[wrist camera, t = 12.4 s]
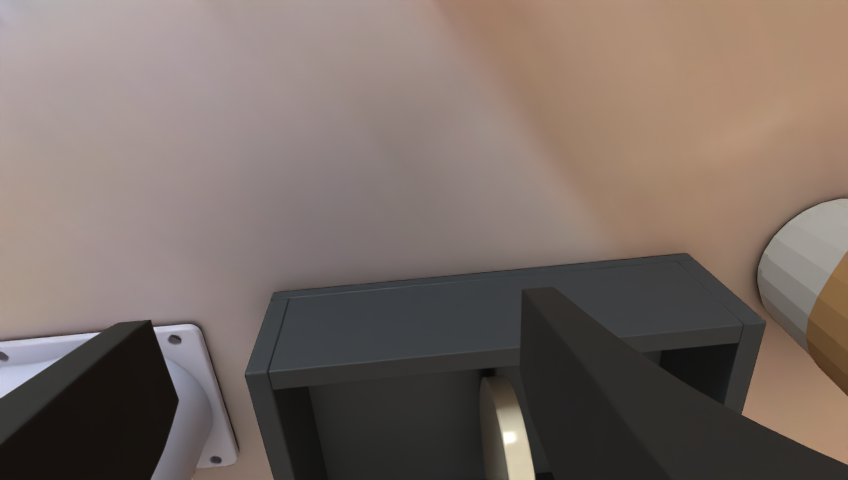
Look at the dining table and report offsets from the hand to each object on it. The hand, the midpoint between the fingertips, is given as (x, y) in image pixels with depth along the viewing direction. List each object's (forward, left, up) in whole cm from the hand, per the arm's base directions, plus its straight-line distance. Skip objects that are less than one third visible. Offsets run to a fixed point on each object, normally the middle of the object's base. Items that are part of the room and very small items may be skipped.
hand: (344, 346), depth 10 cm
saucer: (+5, -11, -10) cm, 15 cm away
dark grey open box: (+4, -11, -10) cm, 16 cm away
